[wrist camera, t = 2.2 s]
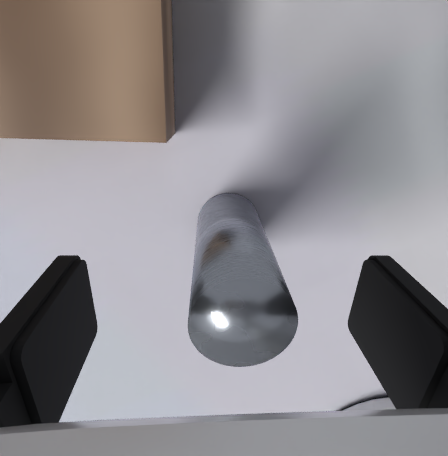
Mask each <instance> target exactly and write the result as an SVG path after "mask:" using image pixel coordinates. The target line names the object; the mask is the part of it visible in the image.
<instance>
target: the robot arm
mask: <svg viewBox="0 0 448 456" xmlns="http://www.w3.org/2000/svg"><path fill="white" fill-rule="evenodd" d="M348 328H349V331H350V333H351V334H352V336H353V338H354V339H355V341H356V343H357V344H358V346H359V348H360V349H361V351H362V353H363V354H364V356H365V358H366V359H367V361H368V363H369V364H370V366H371V368H372V370H373V371H374V373H375V375H376V376H377V378H378V380H379V381H380V383H381V385H382V386H383V388H384V390H385V391H386V393H387V395H388V396H389V397H387V398H380V399H373V400H369V401H366V402H362V403H359V404H356V405H354V406H351V407H349V408H347V409H345V410H343V411H321V412H292V413H264V414H237V415H210V416H186V417H162V418H138V419H115V420H95V421H78V422H61V423H59V420H60V418H61V416H62V413H63V411H64V409H65V406H66V404H67V402H68V399H69V397H70V395H71V392H72V390H73V388H74V385H75V383H76V381H77V378H78V376H79V374H80V371H81V369H82V367H83V364H84V362H85V360H86V357H87V355H88V353H89V350H90V348H91V346H92V343H93V341H94V339H95V336H96V333H97V320H96V314H95V309H94V303H93V298H92V292H91V286H90V281H89V275H88V270H87V264H86V261H85V260H81V259H80V257H79V256H58V257H57V258H56V259H55V260H54V261H53V262H52V263H51V265H50V266H49V267H48V268H47V269H46V271H45V272H44V273H43V274H42V275H41V276H40V278H39V279H38V280H37V281H36V282H35V283H34V285H33V286H32V287H31V288H30V289H29V290H28V292H27V293H26V294H25V295H24V296H23V297H22V299H21V300H20V301H19V302H18V303H17V305H16V306H15V307H14V308H13V309H12V310H11V312H10V313H9V314H8V315H7V316H6V317H5V319H4V320H3V321H2V322H1V323H0V456H448V309H447V308H446V307H445V306H444V305H443V304H442V303H441V302H439V301H438V300H437V299H436V298H435V297H434V296H433V295H432V294H431V293H430V292H429V291H427V290H426V289H425V288H424V287H423V286H422V285H421V284H420V283H419V282H418V281H417V280H415V279H414V278H413V277H412V276H411V275H410V274H409V273H408V272H407V271H406V270H405V269H403V268H402V267H401V266H400V265H399V264H398V263H397V262H396V261H395V260H394V259H393V258H391V257H390V256H370V257H369V258H368V260H365V261H364V263H363V266H362V269H361V273H360V277H359V281H358V285H357V288H356V292H355V296H354V300H353V304H352V307H351V311H350V315H349V319H348Z"/></svg>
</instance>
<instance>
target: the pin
mask: <svg viewBox="0 0 448 456" xmlns="http://www.w3.org/2000/svg"><path fill="white" fill-rule="evenodd" d="M297 326H298V314H297V310H296V307H295V305H294V302H293V300H292V297H291V295H290V293H289V290H288V288H287V285H286V283H285V280H284V278H283V275H282V273H281V270H280V268H279V265H278V263H277V261H276V258H275V256H274V253H273V251H272V248H271V246H270V243H269V241H268V238H267V236H266V233H265V231H264V229H263V226H262V224H261V221H260V219H259V216H258V214H257V211H256V209H255V207H254V206H253V204H252V203H251V202H250V201H249V200H248V199H246V198H245V197H243V196H241V195H238V194H233V193H224V194H220V195H217V196H214V197H213V198H211V199H210V200H208V201H207V202H206V203H205V204H204V206H203V207H202V209H201V210H200V213H199V217H198V225H197V235H196V245H195V256H194V266H193V276H192V286H191V297H190V307H189V317H188V332H189V336H190V339H191V341H192V343H193V344H194V346H195V347H196V349H197V350H198V351H199V352H200V353H201V354H203V355H204V356H205V357H207V358H208V359H210V360H212V361H214V362H217V363H219V364H223V365H227V366H234V367H244V366H252V365H257V364H260V363H263V362H266V361H268V360H270V359H272V358H274V357H275V356H277V355H278V354H280V353H281V352H282V351H283V350H284V349H285V348H286V347H287V346H288V345H289V344H290V342H291V341H292V339H293V338H294V335H295V333H296V330H297Z"/></svg>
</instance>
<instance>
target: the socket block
mask: <svg viewBox="0 0 448 456" xmlns="http://www.w3.org/2000/svg"><path fill="white" fill-rule="evenodd" d="M174 134H175V112H174V76H173V40H172V4H171V0H0V138H21V139H56V140H90V141H125V142H159V143H167V141H168V140H169V139H170V138H171V137H172V136H173V135H174Z"/></svg>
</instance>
